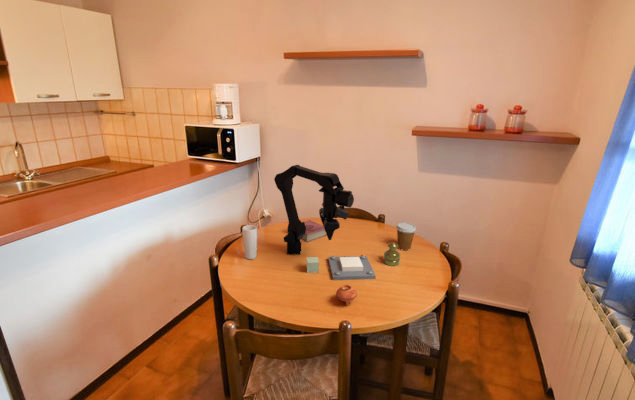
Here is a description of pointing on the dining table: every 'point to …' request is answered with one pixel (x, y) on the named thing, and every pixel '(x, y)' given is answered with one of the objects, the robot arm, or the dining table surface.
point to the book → (313, 231)
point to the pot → (346, 293)
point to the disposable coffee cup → (405, 235)
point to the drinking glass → (250, 241)
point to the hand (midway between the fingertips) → (328, 235)
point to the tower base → (351, 273)
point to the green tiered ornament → (392, 255)
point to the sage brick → (312, 265)
